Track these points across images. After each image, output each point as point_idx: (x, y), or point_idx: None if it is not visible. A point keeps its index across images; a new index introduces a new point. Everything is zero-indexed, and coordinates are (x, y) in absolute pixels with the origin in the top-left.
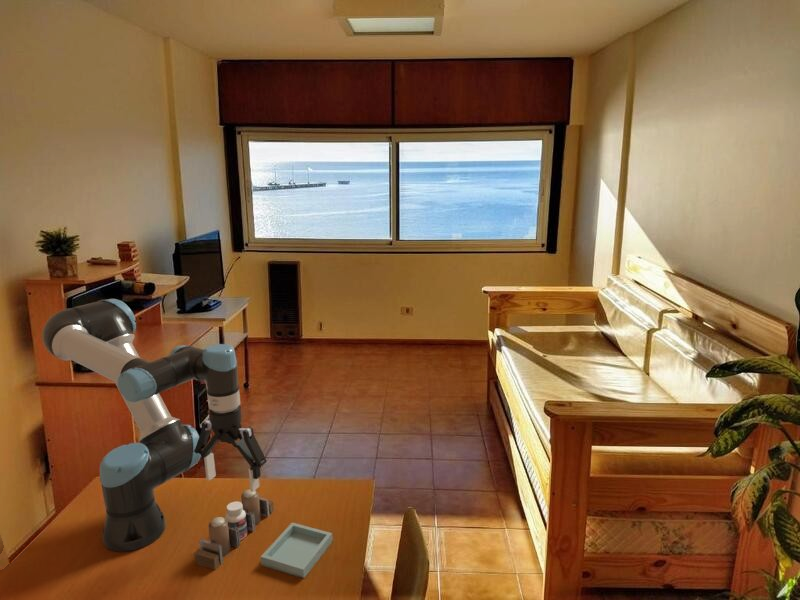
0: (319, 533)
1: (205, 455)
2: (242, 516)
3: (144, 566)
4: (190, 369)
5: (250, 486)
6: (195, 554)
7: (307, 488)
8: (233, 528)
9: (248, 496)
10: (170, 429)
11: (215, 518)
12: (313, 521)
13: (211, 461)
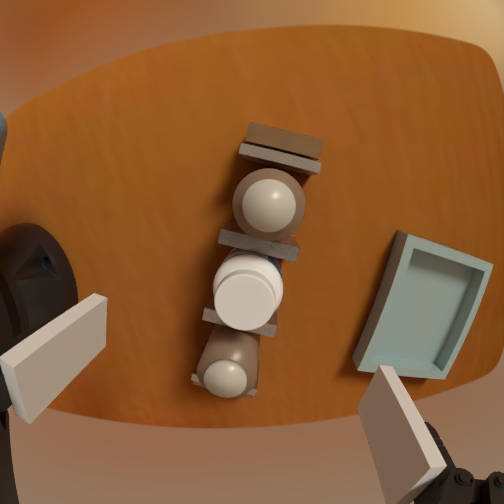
0: (470, 266)
1: (6, 408)
2: (278, 301)
3: (110, 373)
4: None
5: (365, 426)
6: (197, 383)
7: (371, 41)
8: (262, 330)
9: (273, 231)
10: None
11: (210, 371)
12: (435, 186)
13: (48, 367)
